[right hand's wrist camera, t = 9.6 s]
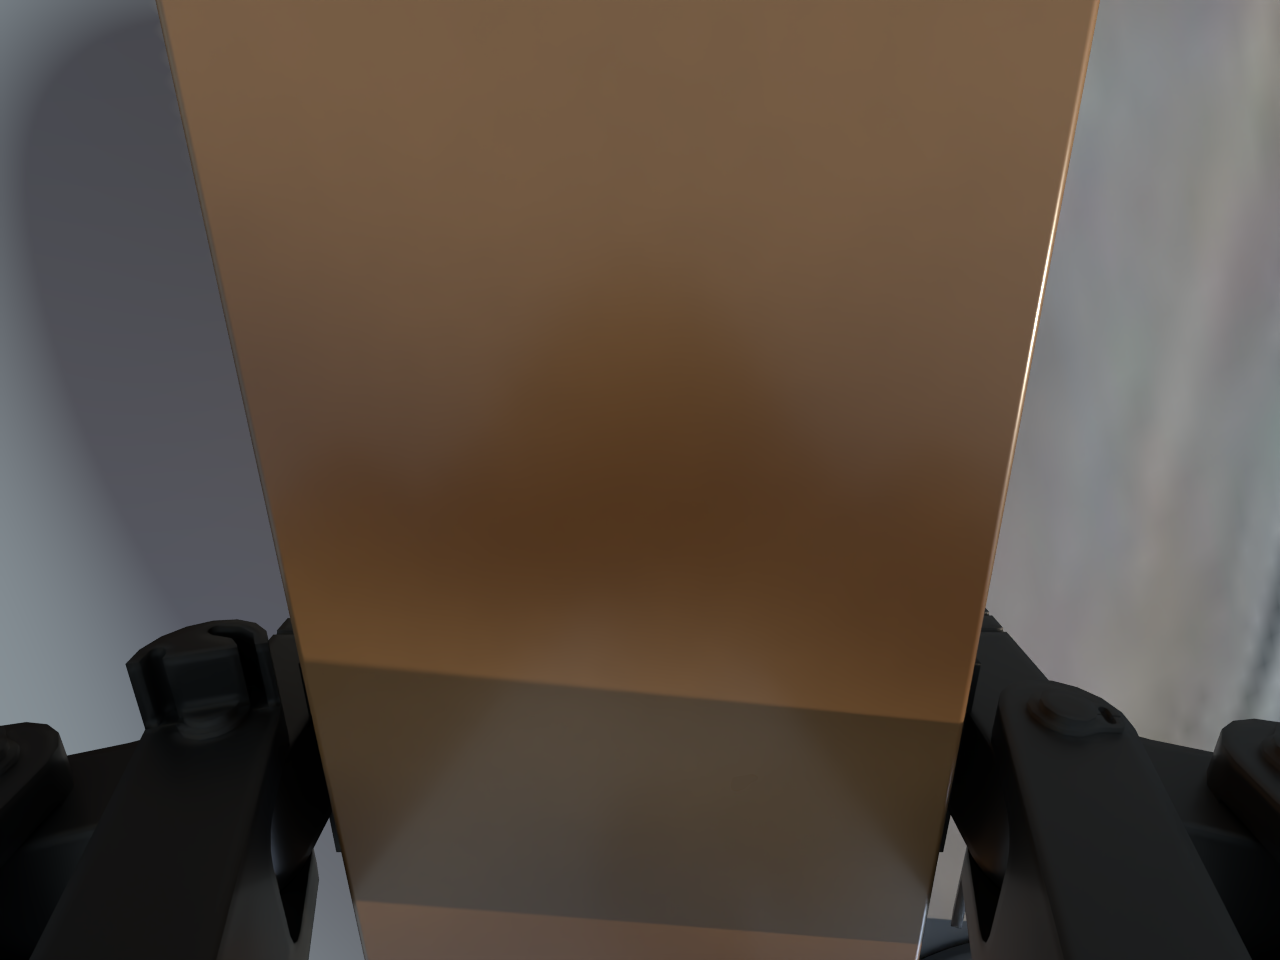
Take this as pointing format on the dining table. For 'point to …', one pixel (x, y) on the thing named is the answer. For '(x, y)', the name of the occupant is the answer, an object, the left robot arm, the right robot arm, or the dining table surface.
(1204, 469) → the dining table surface
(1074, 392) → the dining table surface
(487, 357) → the post
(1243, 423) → the dining table surface
